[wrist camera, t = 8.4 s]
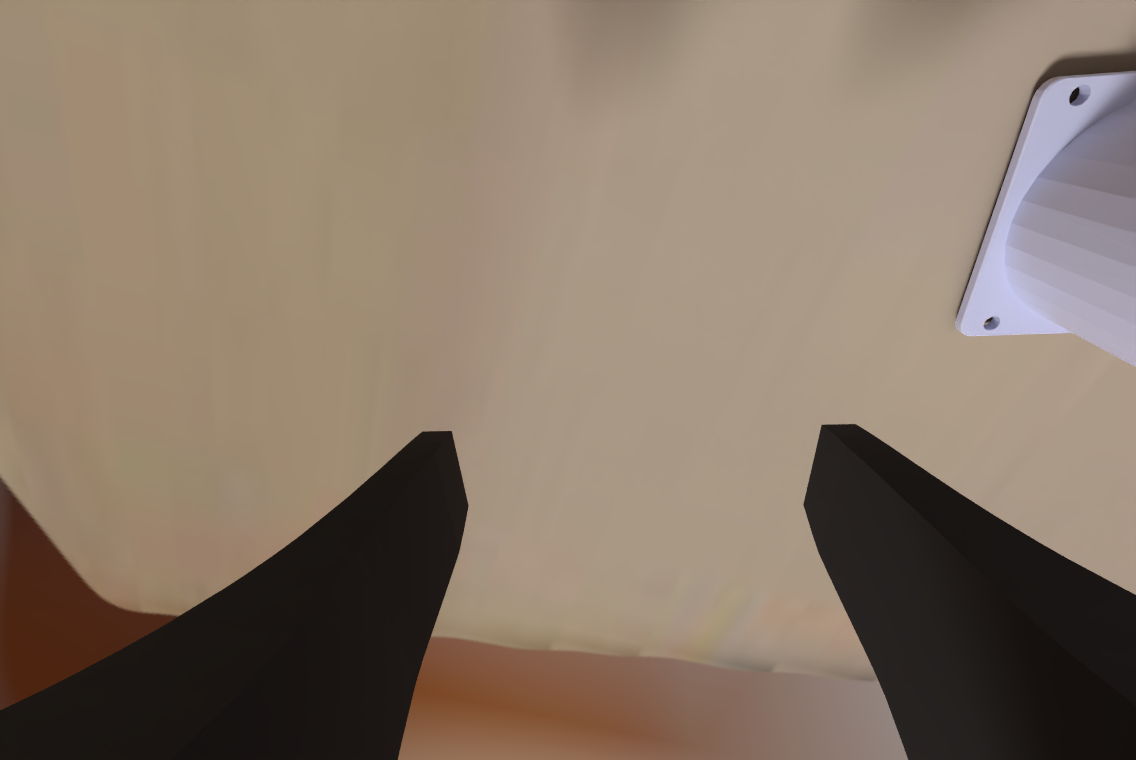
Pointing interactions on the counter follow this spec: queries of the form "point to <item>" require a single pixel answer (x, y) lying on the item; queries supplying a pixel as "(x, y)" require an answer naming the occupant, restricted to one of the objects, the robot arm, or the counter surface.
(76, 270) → the counter surface
